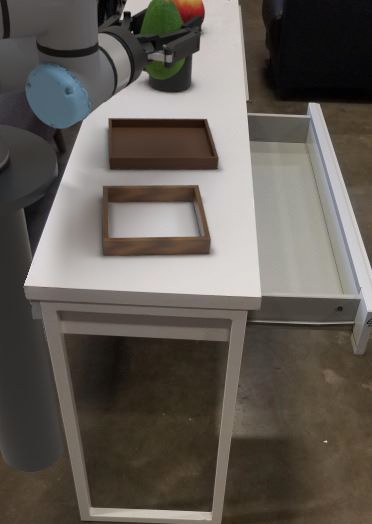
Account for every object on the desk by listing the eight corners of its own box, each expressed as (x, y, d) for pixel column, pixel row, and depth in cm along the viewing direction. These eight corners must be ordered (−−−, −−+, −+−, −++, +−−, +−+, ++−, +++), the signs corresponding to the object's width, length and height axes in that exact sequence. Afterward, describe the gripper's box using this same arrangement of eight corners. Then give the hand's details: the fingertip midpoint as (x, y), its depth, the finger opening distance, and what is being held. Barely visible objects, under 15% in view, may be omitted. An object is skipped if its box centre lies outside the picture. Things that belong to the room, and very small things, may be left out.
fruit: (155, 28, 155) (156, -16, 147) (189, 23, 159) (191, -20, 152) (177, 40, 149) (178, -5, 141) (211, 35, 153) (215, -10, 146)
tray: (110, 169, 101) (109, 158, 100) (108, 128, 112) (108, 118, 111) (217, 169, 103) (218, 157, 102) (206, 129, 114) (207, 118, 113)
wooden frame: (104, 255, 84) (103, 240, 82) (103, 199, 95) (102, 185, 93) (209, 253, 86) (211, 239, 84) (197, 198, 96) (198, 184, 94)
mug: (137, 75, 132) (136, 30, 125) (189, 76, 132) (192, 32, 126) (137, 91, 125) (136, 45, 119) (192, 93, 126) (194, 47, 119)
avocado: (137, 86, 94) (137, 0, 85) (139, 68, 99) (138, -14, 91) (186, 88, 95) (190, 3, 86) (185, 71, 100) (189, -11, 91)
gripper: (48, 77, 85) (120, 34, 100) (175, 106, 80) (231, 56, 95) (41, 19, 80) (118, -17, 94) (177, 46, 75) (236, 4, 89)
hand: (175, 20), depth 95 cm, fingers closed on avocado, 8 cm apart
